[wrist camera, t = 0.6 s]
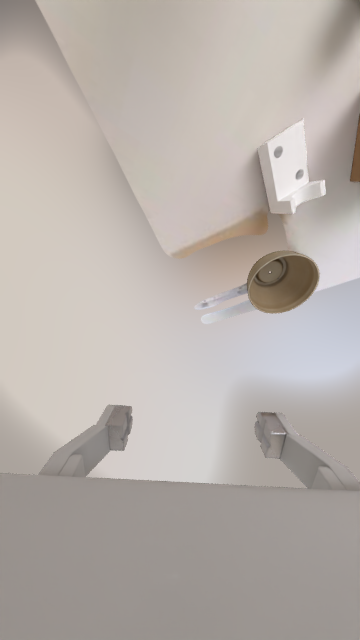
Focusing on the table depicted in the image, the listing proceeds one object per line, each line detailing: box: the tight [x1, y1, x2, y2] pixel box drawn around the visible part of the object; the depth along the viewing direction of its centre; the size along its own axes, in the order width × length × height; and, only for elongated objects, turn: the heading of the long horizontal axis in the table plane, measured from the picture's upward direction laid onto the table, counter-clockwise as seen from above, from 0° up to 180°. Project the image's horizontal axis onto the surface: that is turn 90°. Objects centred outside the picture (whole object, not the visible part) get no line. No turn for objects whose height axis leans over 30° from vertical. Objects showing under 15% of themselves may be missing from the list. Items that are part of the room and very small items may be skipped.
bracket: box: [257, 119, 326, 214], centre depth 36 cm, size 13×7×8 cm, turn 28°
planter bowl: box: [247, 251, 319, 313], centre depth 49 cm, size 16×16×11 cm
